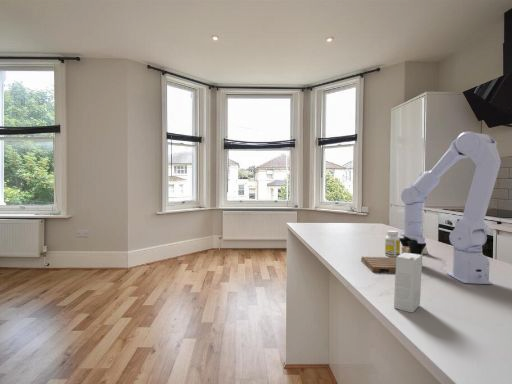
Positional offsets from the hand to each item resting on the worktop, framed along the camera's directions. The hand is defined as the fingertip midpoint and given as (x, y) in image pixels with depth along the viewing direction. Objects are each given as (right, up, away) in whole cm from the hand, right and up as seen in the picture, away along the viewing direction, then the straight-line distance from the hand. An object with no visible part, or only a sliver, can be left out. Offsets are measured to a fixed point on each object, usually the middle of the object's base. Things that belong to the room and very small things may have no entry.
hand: (411, 259), depth 110 cm
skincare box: (-20, -3, -38) cm, 44 cm away
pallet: (-11, -2, -4) cm, 12 cm away
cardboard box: (0, -2, 0) cm, 2 cm away
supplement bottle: (-1, -1, +13) cm, 13 cm away
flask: (+12, -2, +19) cm, 23 cm away
